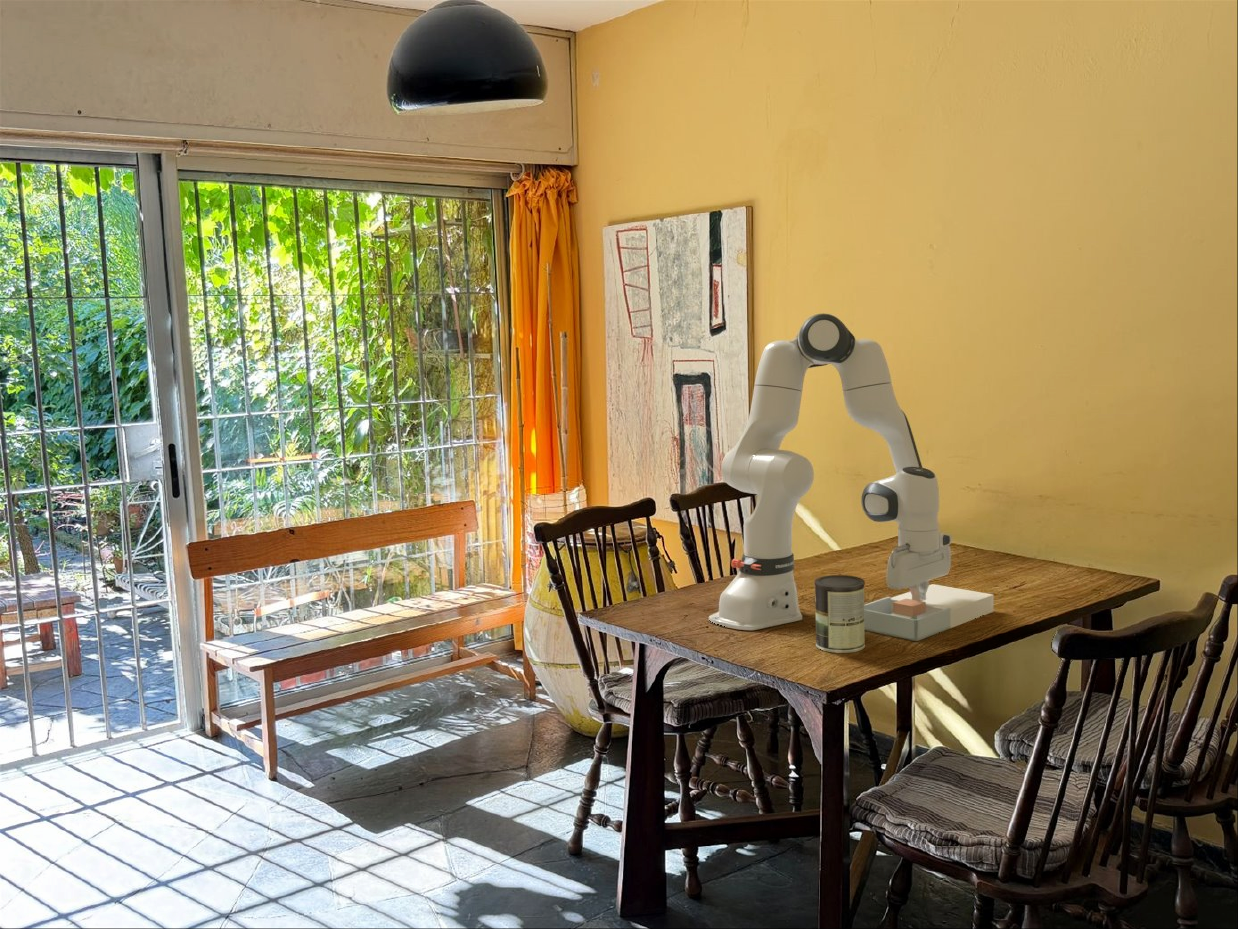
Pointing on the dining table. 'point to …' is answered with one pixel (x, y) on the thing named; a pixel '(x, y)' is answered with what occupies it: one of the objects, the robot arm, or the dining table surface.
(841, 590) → the coffee can
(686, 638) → the dining table surface
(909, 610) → the tile terracotta
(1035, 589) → the dining table surface
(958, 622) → the white shallow box
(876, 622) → the box
